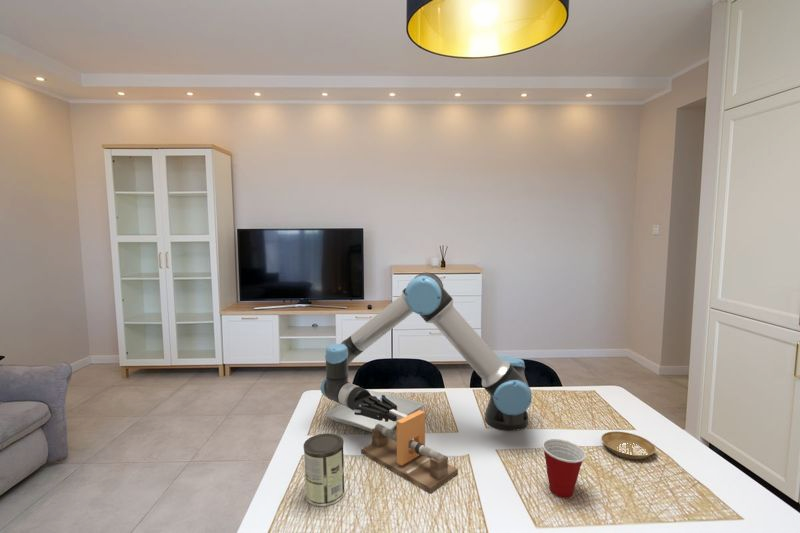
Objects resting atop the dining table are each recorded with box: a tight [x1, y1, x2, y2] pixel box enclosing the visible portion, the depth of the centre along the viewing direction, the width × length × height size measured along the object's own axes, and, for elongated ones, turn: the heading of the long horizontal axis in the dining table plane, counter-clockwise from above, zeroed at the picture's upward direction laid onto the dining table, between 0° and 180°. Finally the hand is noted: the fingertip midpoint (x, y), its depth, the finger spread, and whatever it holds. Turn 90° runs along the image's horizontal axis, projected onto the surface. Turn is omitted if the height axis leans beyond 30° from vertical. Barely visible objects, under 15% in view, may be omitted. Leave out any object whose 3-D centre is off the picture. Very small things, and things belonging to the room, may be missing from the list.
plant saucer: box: [601, 430, 656, 461], centre depth 130 cm, size 15×15×3 cm
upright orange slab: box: [396, 409, 426, 465], centre depth 121 cm, size 2×10×12 cm, turn 136°
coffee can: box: [303, 432, 346, 507], centre depth 109 cm, size 10×10×14 cm
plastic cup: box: [541, 438, 587, 499], centre depth 109 cm, size 11×11×12 cm
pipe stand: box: [360, 424, 459, 494], centre depth 123 cm, size 28×12×8 cm, turn 46°
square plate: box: [324, 389, 425, 433], centre depth 154 cm, size 27×27×4 cm
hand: (406, 420), depth 121 cm, fingers closed
